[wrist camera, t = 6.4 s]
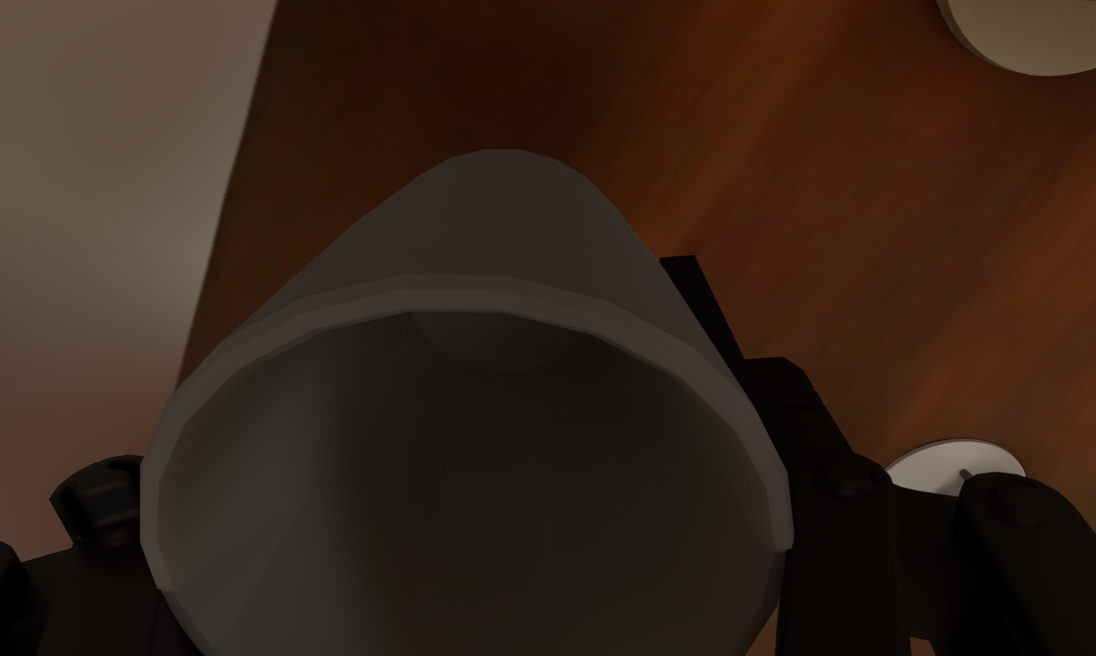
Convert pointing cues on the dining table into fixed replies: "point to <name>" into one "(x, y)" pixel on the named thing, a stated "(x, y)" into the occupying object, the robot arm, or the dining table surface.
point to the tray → (1026, 33)
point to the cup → (469, 445)
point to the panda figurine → (950, 465)
